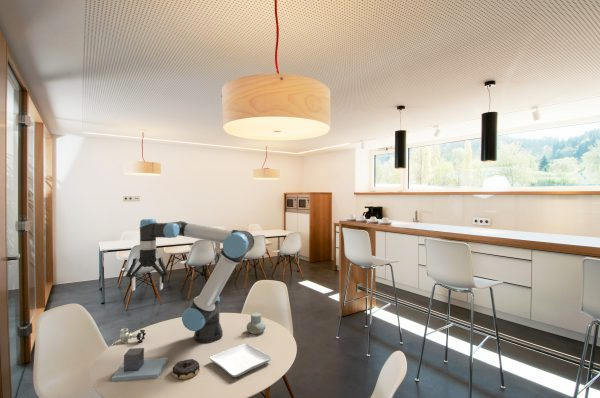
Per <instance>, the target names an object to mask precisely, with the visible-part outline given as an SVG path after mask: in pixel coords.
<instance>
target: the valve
mask: <svg viewBox="0 0 600 398" xmlns="http://www.w3.org/2000/svg"><path fill="white" fill-rule="evenodd" d="M145 336H146V330H145V329H140V330H139V332H137V333H133V332H129V328H128V327H123V328H122V329H120V333H119V339H120V344H127V343H128V342H129V340H131V339H132V338H133V339H136V340H137V343H138V344H139V343H141V344H142V343H143V341H144V340H145V339H146V337H145Z"/></svg>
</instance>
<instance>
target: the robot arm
mask: <svg viewBox="0 0 600 398" xmlns="http://www.w3.org/2000/svg"><path fill="white" fill-rule="evenodd" d="M139 224H140V225H139V249H140V250H139V258H137V257H135V258H133V259H132V263H131V265H130V267H129V269H128V271H127V273H126V274H125V277H126V278H129V284H130V285H131V292H133V291H135V290H136V274H137V273H138V272H139V271H140V270H141V269H142V268H146V267H147V268H151V267H152V268H153V269H154V270H155V271H156V273H158V274H159V275H160V277H159V291H162V290H163V288H164V283H165V281H166V276H168V275H169V271H168V269H167V267H166V266H165V263H164V262H163V261H164V260H163V257H157V255H156V254H157V249H156V247H157V245H156V243H157V238H164V239H165V238H166V239H167V238H168V239H171V238H172V239H173V238H177V237H178V236H179V237H185V238H186V237H187V238H192V239H197V240H202V241H207V242H213V243H217V244H222V247H221V250H220V257H219V260H218V262H217V264H216V265H215V266H214V269H213V271H212V272H211V274H210V276H209V278H208V279H207V281H206V283H205V284H204V286H203V288H202V290H201V292H200V293H199V295H198V296H196V297H194V298H193V300H192V302H191V304H190V305H189V307H188V308H187V309H185V310H184V311H183V313H182V315H181V322H182V325H183V326H184V327H185V328H186V329H187V330H189V331H190V332H194V333H193V340H194V341H195V342H197V343H202V344H206V343H213V342H216V341H219V340H220V339H222V337H223V334H224V333H223V328H222V326H221V323H220V307H221V306H220V303H221V300H220V294H221V293H222V291H223V289H224V287H225V285H226V284H227V281H229V278H230V277H231V274H233V272H234V270H235V268H236V266H237V265H238V264H241V263H242V262H243V260H244V258H245V256H246V254H247V253H248V252H250V251H251V250H252V249H253V248H254V246H255V238H254V235H253V234H252V233H251V232H249V231H248V230H247V231H246V230H238V229H231V230H227V229H222V228H218V227H216V228H215V227H211V226H206V225H200V224H195V223H188V222H186V221H180V220H179V221H172V222H164V223H163V222H157V220H156V219H154V218H143V219H141V220H140V223H139ZM138 262H139V265H138V266H137V267H136V265H137V263H138ZM156 262H158V264H159V266H160V267H159V266H158V264H157V263H156ZM135 267H136V269H135V270H134V268H135ZM133 270H134V271H133Z"/></svg>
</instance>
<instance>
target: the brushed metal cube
mask: <svg viewBox="0 0 600 398" xmlns="http://www.w3.org/2000/svg"><path fill="white" fill-rule="evenodd" d="M144 359H145V347H137V348H134V347H133V348H128V350H127V351H126V352H125V353H124V355H123V364H124V372H127V371H139V370H140V368H141V367H142V365H143V364H144Z"/></svg>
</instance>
